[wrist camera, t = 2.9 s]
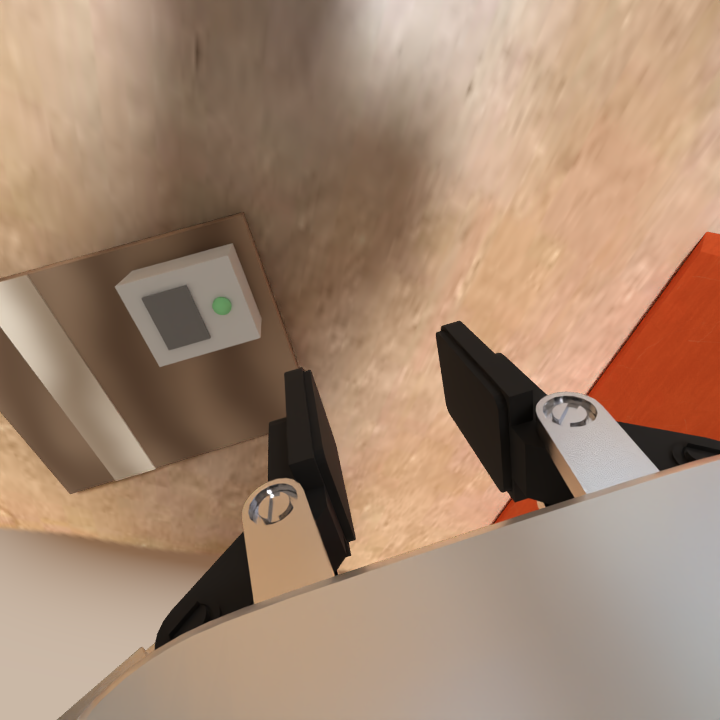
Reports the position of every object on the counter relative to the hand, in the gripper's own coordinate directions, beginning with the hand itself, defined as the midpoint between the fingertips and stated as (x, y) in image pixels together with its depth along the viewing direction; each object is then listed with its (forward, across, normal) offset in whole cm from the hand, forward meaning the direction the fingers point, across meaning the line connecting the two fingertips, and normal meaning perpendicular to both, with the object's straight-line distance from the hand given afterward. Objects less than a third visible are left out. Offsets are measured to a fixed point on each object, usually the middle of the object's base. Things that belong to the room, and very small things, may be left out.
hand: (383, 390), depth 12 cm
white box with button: (+15, +8, 0) cm, 17 cm away
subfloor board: (+17, +14, +4) cm, 22 cm away
